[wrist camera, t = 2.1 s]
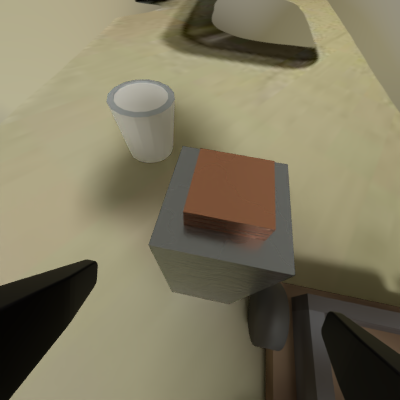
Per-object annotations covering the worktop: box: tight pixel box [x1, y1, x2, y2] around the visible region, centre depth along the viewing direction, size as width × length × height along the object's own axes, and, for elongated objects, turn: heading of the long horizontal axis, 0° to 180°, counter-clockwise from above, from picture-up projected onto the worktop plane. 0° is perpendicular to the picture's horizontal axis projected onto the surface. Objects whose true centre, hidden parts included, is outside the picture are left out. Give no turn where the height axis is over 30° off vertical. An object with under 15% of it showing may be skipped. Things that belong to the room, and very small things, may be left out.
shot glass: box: [107, 80, 175, 163], centre depth 23 cm, size 7×7×7 cm
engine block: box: [149, 146, 295, 304], centre depth 13 cm, size 5×5×13 cm
